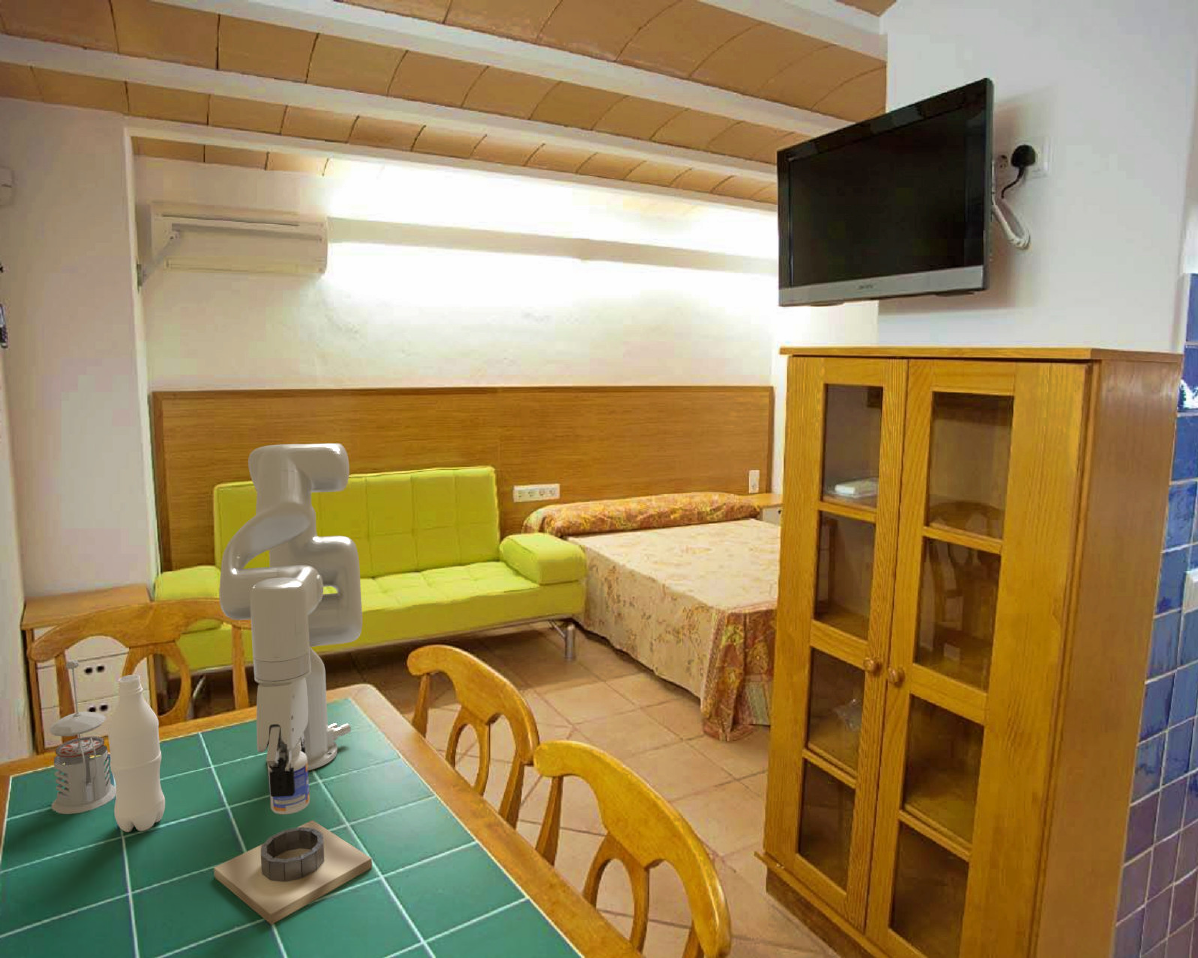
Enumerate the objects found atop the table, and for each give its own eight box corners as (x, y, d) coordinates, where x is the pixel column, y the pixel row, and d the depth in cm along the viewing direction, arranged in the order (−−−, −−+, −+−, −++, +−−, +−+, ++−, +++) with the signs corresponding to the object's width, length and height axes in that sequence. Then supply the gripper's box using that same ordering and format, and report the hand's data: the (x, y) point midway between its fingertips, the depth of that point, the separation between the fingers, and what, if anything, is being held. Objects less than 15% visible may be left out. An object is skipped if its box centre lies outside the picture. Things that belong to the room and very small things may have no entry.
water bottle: (144, 838, 127) (131, 688, 124) (105, 833, 129) (91, 685, 125) (176, 814, 134) (165, 671, 131) (139, 809, 136) (127, 668, 132)
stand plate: (312, 828, 130) (312, 820, 130) (371, 867, 120) (371, 858, 120) (214, 876, 118) (213, 867, 118) (271, 924, 108) (270, 914, 108)
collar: (304, 838, 125) (303, 820, 125) (335, 860, 120) (334, 841, 119) (250, 865, 118) (249, 846, 118) (281, 889, 113) (280, 869, 113)
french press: (109, 777, 146) (97, 645, 143) (127, 802, 138) (115, 663, 134) (45, 797, 139) (31, 660, 136) (60, 825, 131) (45, 679, 128)
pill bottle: (316, 805, 118) (313, 742, 116) (280, 819, 114) (277, 755, 112) (298, 791, 121) (295, 730, 120) (263, 805, 117) (259, 743, 116)
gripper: (273, 645, 123) (279, 757, 125) (234, 689, 106) (242, 818, 108) (323, 643, 123) (328, 755, 126) (293, 687, 107) (300, 814, 109)
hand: (288, 782), depth 117 cm, fingers closed on pill bottle, 5 cm apart
